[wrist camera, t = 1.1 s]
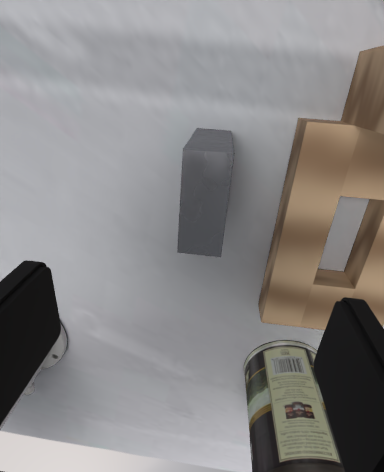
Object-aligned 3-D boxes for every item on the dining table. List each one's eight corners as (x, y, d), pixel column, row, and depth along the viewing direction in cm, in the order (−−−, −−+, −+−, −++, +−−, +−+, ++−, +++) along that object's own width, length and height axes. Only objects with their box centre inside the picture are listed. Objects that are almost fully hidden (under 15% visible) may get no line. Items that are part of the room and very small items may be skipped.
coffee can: (267, 403, 42) (286, 539, 29) (229, 357, 39) (231, 488, 26) (339, 380, 38) (395, 522, 26) (303, 327, 35) (347, 461, 23)
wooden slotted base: (365, 316, 34) (448, 452, 21) (258, 304, 34) (277, 428, 22) (476, 59, 22) (798, 25, 10) (313, 48, 23) (419, 2, 10)
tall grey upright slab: (222, 205, 29) (220, 257, 20) (191, 202, 30) (177, 252, 21) (231, 131, 26) (234, 153, 17) (197, 128, 26) (182, 149, 17)
